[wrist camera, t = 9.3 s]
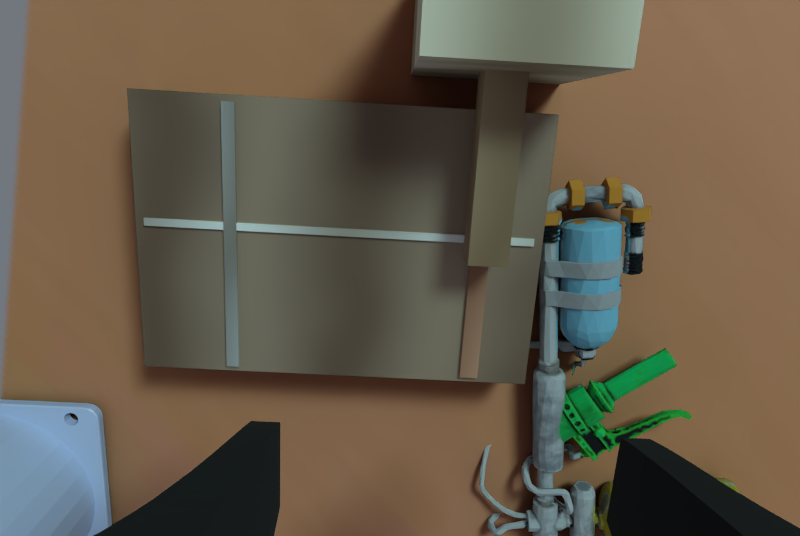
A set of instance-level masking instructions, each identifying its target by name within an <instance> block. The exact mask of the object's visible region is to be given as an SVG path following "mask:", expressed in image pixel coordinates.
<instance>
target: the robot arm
mask: <svg viewBox="0 0 800 536" xmlns="http://www.w3.org/2000/svg"><path fill="white" fill-rule="evenodd" d="M70 413H73V414H75V415H76V416H77V417H78V420H75V419H73V418H72V417H71V416H70ZM279 508H280V422H257V421H251V422H249V423H248V424H247V425H246V426H244V427H243V428H242V429H241V430H240V431H239V432H237V433H236V434H235V435H234V436H233V437H231V438H230V439H229V440H228V441H227V442H226V443H225V444H223V445H222V446H221V447H220V448H219V449H218V450H216V451H215V452H214V453H213V454H212V455H210V456H209V457H208V458H207V459H206V460H204V461H203V462H202V463H201V464H199V465H198V466H197V467H196V468H195V469H193V470H192V471H191V472H190V473H188V474H187V475H186V476H184V477H183V478H181V479H180V480H179V481H177V482H176V483H175V484H173V485H172V486H171V487H169V488H168V489H167V490H165V491H164V492H163V493H161V494H160V495H158V496H157V497H156V498H154V499H153V500H151V501H150V502H148V503H147V504H145V505H144V506H142V507H141V508H139V509H138V510H136V511H135V512H133V513H131V514H130V515H128V516H126V517H125V518H123V519H121V520H120V521H118V522H116V523H115V524H113V525H112V517H111V506H110V494H109V482H108V471H107V459H106V448H105V436H104V425H103V415H102V412H101V410H100V409H99V408H98V407H97V406H95V405H94V404H89V403H69V402H47V401H25V400H3V399H0V536H274V532H275V528H276V523H277V518H278V513H279ZM606 521H607V524H608V527H609V530H610V533H611V536H800V528H798V527H796V526H794V525H793V524H791V523H789V522H787V521H786V520H784V519H782V518H780V517H779V516H777V515H775V514H773V513H772V512H770V511H768V510H766V509H765V508H763V507H761V506H760V505H758V504H756V503H755V502H753V501H751V500H750V499H748V498H746V497H745V496H743V495H741V494H740V493H738V492H736V491H735V490H733V489H732V488H730V487H728V486H727V485H725V484H724V483H722V482H720V481H719V480H717V479H716V478H714V477H712V476H711V475H709V474H708V473H706V472H704V471H703V470H701V469H700V468H698V467H697V466H695V465H693V464H692V463H690V462H689V461H687V460H685V459H684V458H682V457H681V456H679V455H677V454H676V453H674V452H672V451H671V450H669V449H667V448H666V447H664V446H662V445H660V444H658V443H656V442H654V441H652V440H650V439H637V438H621V441H620V446H619V452H618V457H617V463H616V469H615V474H614V480H613V485H612V491H611V497H610V502H609V508H608V513H607V519H606Z"/></svg>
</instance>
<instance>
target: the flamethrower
mask: <svg viewBox="0 0 800 536" xmlns="http://www.w3.org/2000/svg"><path fill="white" fill-rule="evenodd" d="M599 201H602V203H603V206H604V208H605V209H612V208H618V207H619V206H620V205H621V203H622V202H626V206H623V207H622V208H621V218H620V221H626V227H625V232H626V235H625V236H626V245H625V252H624V267H623V256H622V255H621V238H622V224H621V223H620V222H617V221H614V220H612V219H606V218H599V217H588V218H579V219H570V220H568V221H565V222H563V223H562V224H561V222H562V211H559V210H557V208H558V207H561V206H564V205H567V208H568V211H576V210H581V209H582V208H583V207H584V205H585V203H588V202H599ZM651 215H652V207H650V206H644V204H643V199H642V194H641V193H639V192H638V191H637V190H636V189H635V188H634V187H632V186H630V185H625V184H621V182H620V180H619V178H606V179H605V180H604V182H603V183H602V184H601V185H600V186H589V187H584V185H583V182H582V180H569V181H568V183H567V185H566V188H564V189H559V190H557V191H555V192H553V193H551V194H550V195H549V196H548V204H547V212H546V220H545V228H544V236H543V244H542V252H541V260H540V280H539V340H538V341H531V342H530V347H529V348H536V349H540V357H539V359H538V367H537V368H536V369H535V370H534V372H533V454H532V455H530V456H528V457H527V458H526V460H525V462H524V464H523V466H522V478H523V481H524V483H525V485H526V487H527V489H528V490H529V491H531V492H533V493H535V494H536V496H535V497H534V498H533V507H532V508H533V510H526V513H518V512H514V511H511V510H509V509H507V508H505V507H504V506H502V505H501V504H499V503H498V502H497V501H495V500H494V499H493V498H492V497H491V496H490V495H489V493H488V492H487V491H486V489H485V488H484V477H485V467H486V462H487V458H488V454H489V449H490V446H491V445H489V446H487V447H486V448H485V450H484V453H483V459H482V464H481V469H480V483H479V488H480V491H481V493H482V494H483V495H484V496H485V497H486V498H487V499H488V500H489V501H490V502H491V503H492V504H493V505H494V506H495V507H496V508H498V509H499V510H501V511H502V512H504V513H505V514H507V515H510V516H513V517H515V518H526V520H523V521H517V522H512V523H506V524H504V525H502V526H500V527H499V528H495V525H494V522H495V521H496V520H497V519H498V518H499V516H500V513H493V514H492V515H491V516H490V517H489V519H488V528H489V530H490V531H491V533H492V534H493V535H496V536H499V535H501V534H502V533H504V532H505V531H507V530H510V529H518V528H528V531H529V532H533V536H558V531H561V530H563V529H565V528H566V527H570V532H569V536H594V534H595V525H596V524H597V526H598V528H599V529H601V530H602V532H603V535H604V536H611V533H610V530H609V527H608V524H607V521H606V519H607V513H608V508H609V502H610V497H611V491H612V485H613V482H607V483H605V484H604V485H603V486H602V488H601V491H600V494H599V501H598V508H596V512H595V490H594V488H593V487H592V486H591V485H590V484H589V483H587V482H586V481H577V482H576V483H575V484H574V485H573V486H572V487H571V489H570V494H569V492H568V491H567V490H565V489H561V488H553V472H558V471H560V470H561V469H562V468H563V456H564V451H568V457H569V458H571V459H572V460H575V459H578V458H582V457H589V456H590V457H591V458H592V460H593V461H594V460H596V459H598V457H597V455H599V454H600V453H602V452H604V451H605V450H608V451H610V450H612V449H613V448H614V447H615V446H617V445H619V444H620V441H621V438H634V437H636V436H638V435H640V434H641V433H643V432H645V431H647V430H649V429H651V428H653V427H655V426H657V425H659V424H661V423H663V422H666V421H668V420H670V419H672V418H675V417H680V416H681V417H684V418H687V419H690V418H691V417H692V416H691V415H690V414H689V413H688V412H685V411H682V410H668V411H662V412H659V413H657V414H654V415H652V416H650V417H647V418H645V419H643V420H640V421H638V422H635V423H633V424H631V425H628V426H626V427H622V428H617V429H613V430H607V429H606V428H605V427H604V426H603V425H602V424H601V423H600V420H601V419H603V418H605V416H604V414H603V412H610V413H613V408H614V403H615V400H617V399H619V398H620V397H622V396H624V395H626V394H628V393H629V392H631V391H633V390H635V389H637V388H638V387H640V386H642V385H644V384H646V383H647V382H649V381H651V380H653V379H654V378H656V377H658V376H660V375H661V374H663V373H665V372H667V371H668V370H670V369H672V368H674V367H675V366H677V364H676V362H675V361H674V359H673V358H672V356H671V355H670V354H669V352H668V351H667V350H666V348H665V349H663V350H661V351H659V352H657V353H656V354H654V355H652V356H650V357H648V358H647V359H645V360H643V361H641V362H640V363H638V364H636V365H634V366H632V367H631V368H629V369H627V370H625V371H624V372H622V373H620V374H618V375H616V376H615V377H613V378H611V379H609V380H608V381H606V382H604V383H600V382H596V381H591V380H590V382H589V386H588V390H586V388H585V387H584V386H583V385H582V384H580V385H578V386H577V387H575V388H573V389H571V390H570V391H568V392H565V374H564V371H563V370H562V369H560V368H559V359H558V351H561V352H573V351H576V356H577V357H579V358H581V361H574V363H573V364H572V365H573V368H572V375H573V373H574V370H575V368H576V366H580V367H583V366H584V365H585V363H586V361H587V360H591V359H593V358H594V357H595V354H596V349H597V348H599V347H600V346H602V345H603V344H605V343H606V342H608V341H609V340H610V339H611V337H612V335H613V334H614V332H615V331H616V328H617V324H618V305H619V304H620V302H621V288H622V286H621V285H620V274H621V273H622V272H623V273H626V274H630V275H633V274H640V273H641V272H642V271H643V270H642V261H643V236H644V229H645V227H644V224H645V222H649V221H650V220H651ZM560 224H561V225H560ZM559 241H560V253H559ZM558 277H559V282H558ZM558 307H559V318H560V329H561V331H562V333H563V335H564V336H565V337H566V338H567V339H568V340H559V339H558ZM602 411H603V412H602ZM572 437H573V438H574V439H575V440H576V441H577V443H578V444H579V445H580V446H581V447H582V448H581V450H580V451H577V452H575V450H574V447H573V445H571V444H569V443H567V444H564V442H565V441H567V440H568V439H570V438H572ZM532 463H533V464H534V466H535V467H536V468H537V479H538V488H537V487H535V486H534V485H533V484H532V483H531V480H530V476H529V467H530V465H531V464H532ZM716 479H717V480H719V481H720V482H722V483H724V484H725V485H727V486H728V487H730V488H732V489H733V490H735V491H736V492H738V493H739V491H738V489H737V488H736V486H735V485H734V484H733V483H732V482H731V481H730V480H728V479H725V478H716ZM554 495H561V496H562V497H563V498H564V502H565V505H566V506H565V505H564V504H563V503H561V502H560V501H558V500H557V499H556V498H555V497H554Z"/></svg>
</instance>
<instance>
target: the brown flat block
mask: <svg viewBox="0 0 800 536" xmlns="http://www.w3.org/2000/svg"><path fill="white" fill-rule="evenodd" d="M127 95H128V111H129V127H130V142H131V158H132V174H133V190H134V205H135V221H136V237H137V253H138V268H139V284H140V300H141V316H142V331H143V347H144V363H145V366H153V367H174V368H195V369H216V370H237V371H258V372H280V373H301V374H322V375H343V376H364V377H385V378H407V379H428V380H449V381H470V382H491V383H512V384H525V379H526V371H527V363H528V355H529V347H530V339H531V331H532V323H533V315H534V307H535V299H536V291H537V283H538V275H539V268H540V260H541V252H542V244H543V236H544V228H545V220H546V212H547V204H548V196H549V188H550V180H551V172H552V164H553V156H554V148H555V140H556V132H557V124H558V116H559V115H557V114H541V113H525V117H524V126H523V135H522V145H521V154H520V163H519V172H518V181H517V191H516V200H515V209H514V218H513V228H512V237H511V246H510V255H509V264H508V268H503V267H483V266H468V265H467V263H466V261H465V259H464V257H463V249H464V238H465V226H466V214H467V203H468V191H469V180H470V168H471V157H472V145H473V134H474V122H475V111H476V110H475V109H458V108H442V107H425V106H409V105H392V104H376V103H359V102H343V101H327V100H310V99H294V98H277V97H261V96H244V95H228V94H211V93H195V92H178V91H162V90H145V89H129V88H127Z"/></svg>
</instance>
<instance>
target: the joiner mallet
mask: <svg viewBox="0 0 800 536" xmlns="http://www.w3.org/2000/svg"><path fill="white" fill-rule="evenodd" d="M643 6H644V0H415V13H414V31H413V48H412V66H411V75H412V76H428V77H445V78H462V79H478V87H477V99H476V111H475V122H474V134H473V145H472V157H471V168H470V180H469V191H468V203H467V214H466V226H465V238H464V249H463V257H464V259H465V261H466V263H467V265H468V266H483V267H503V268H508V264H509V255H510V246H511V237H512V228H513V218H514V209H515V200H516V191H517V181H518V172H519V163H520V154H521V145H522V135H523V126H524V117H525V108H526V99H527V89H528V82H529V83H546V84H564V83H568V82H573V81H578V80H583V79H587V78H592V77H597V76H602V75H606V74H611V73H616V72H621V71H625V70H630V69H634V65H635V58H636V52H637V45H638V39H639V32H640V26H641V19H642V13H643Z"/></svg>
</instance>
